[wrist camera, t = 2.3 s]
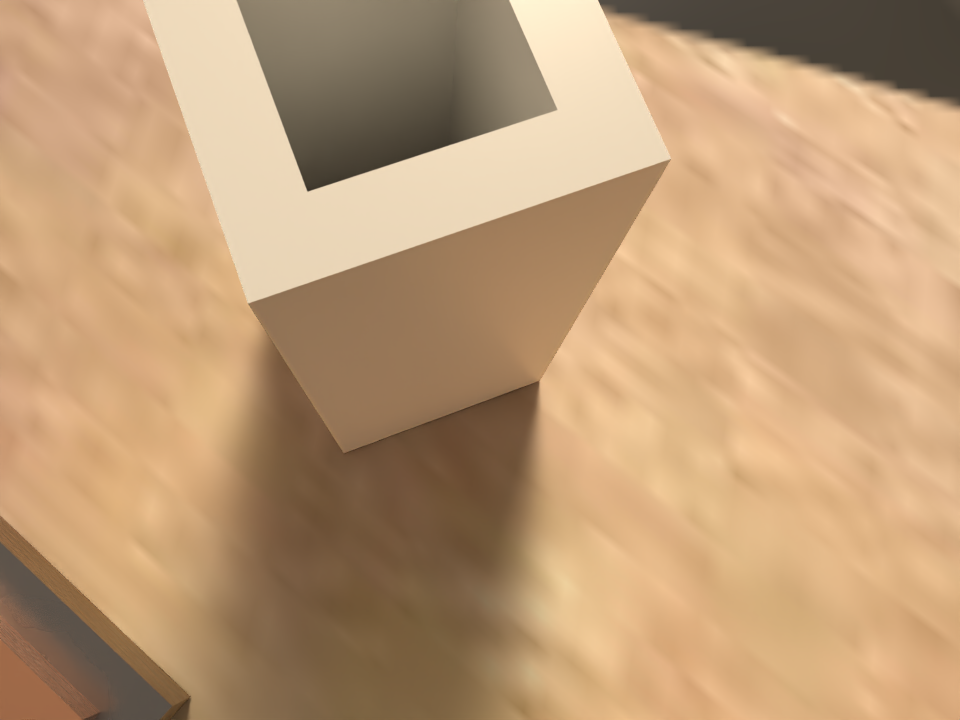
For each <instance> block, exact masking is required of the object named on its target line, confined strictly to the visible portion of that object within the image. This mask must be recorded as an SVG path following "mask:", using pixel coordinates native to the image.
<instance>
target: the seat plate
mask: <svg viewBox="0 0 960 720" xmlns="http://www.w3.org/2000/svg"><path fill="white" fill-rule="evenodd" d="M189 698H190V696H189V695H188V694H187V693H186V692H185V691H184V690H183V689H182V688H181V687H180V686H179V685H178V684H177V683H176V682H175V681H174V680H173V679H171V678H170V677H169V676H168V675H167V674H166V673H165V672H164V671H163V670H162V669H161V668H160V667H159V666H158V665H157V664H156V663H155V662H154V661H153V660H151V659H150V658H149V657H148V656H147V655H146V654H145V653H144V652H143V651H142V650H141V649H140V648H139V647H138V646H137V645H136V644H135V643H134V642H133V641H131V640H130V639H129V638H128V637H127V636H126V635H125V634H124V633H123V632H122V631H121V630H120V629H119V628H118V627H117V626H116V625H115V624H114V623H113V622H111V621H110V620H109V619H108V618H107V617H106V616H105V615H104V614H103V613H102V612H101V611H100V610H99V609H98V608H97V607H96V606H95V605H94V604H93V603H91V602H90V601H89V600H88V599H87V598H86V597H85V596H84V595H83V594H82V593H81V592H80V591H79V590H78V589H77V588H76V587H75V586H74V585H73V584H71V583H70V582H69V581H68V580H67V579H66V578H65V577H64V576H63V575H62V574H61V573H60V572H59V571H58V570H57V569H56V568H55V567H54V566H52V565H51V564H50V563H49V562H48V561H47V560H46V559H45V558H44V557H43V556H42V555H41V554H40V553H39V552H38V551H37V550H36V549H35V548H34V547H32V546H31V545H30V544H29V543H28V542H27V541H26V540H25V539H24V538H23V537H22V536H21V535H20V534H19V533H18V532H17V531H16V530H15V529H14V528H12V527H11V526H10V525H9V524H8V523H7V522H6V521H5V520H4V519H3V518H2V517H1V516H0V720H170V719H171V718H172V717H173V716H174V714H175V713H176V712H177V711H178V710H179V709H180V708H181V707H182V705H183V704H184V703H185V702H186V701H187V700H188V699H189Z"/></svg>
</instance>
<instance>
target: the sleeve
mask: <svg viewBox="0 0 960 720" xmlns="http://www.w3.org/2000/svg"><path fill="white" fill-rule="evenodd" d="M143 2H144V5H145V8H146V10H147V13H148V16H149V19H150V22H151V25H152V28H153V31H154V34H155V36H156V39H157V42H158V45H159V48H160V51H161V54H162V57H163V60H164V62H165V65H166V68H167V71H168V74H169V77H170V80H171V83H172V86H173V88H174V91H175V94H176V97H177V100H178V103H179V106H180V109H181V111H182V114H183V117H184V120H185V123H186V126H187V129H188V132H189V135H190V137H191V140H192V143H193V146H194V149H195V152H196V155H197V158H198V161H199V163H200V166H201V169H202V172H203V175H204V178H205V181H206V184H207V187H208V189H209V192H210V195H211V198H212V201H213V204H214V207H215V210H216V213H217V215H218V218H219V221H220V224H221V227H222V230H223V233H224V236H225V239H226V241H227V244H228V247H229V250H230V253H231V256H232V259H233V262H234V265H235V267H236V270H237V273H238V276H239V279H240V282H241V285H242V288H243V291H244V293H245V296H246V299H247V302H248V304H249V306H250V307H251V309H252V311H253V312H254V314H255V315H256V317H257V318H258V320H259V322H260V323H261V325H262V326H263V328H264V329H265V331H266V332H267V334H268V336H269V337H270V339H271V340H272V342H273V343H274V345H275V347H276V348H277V350H278V351H279V353H280V354H281V356H282V358H283V359H284V361H285V362H286V364H287V365H288V367H289V368H290V370H291V372H292V373H293V375H294V376H295V378H296V379H297V381H298V383H299V384H300V386H301V387H302V389H303V390H304V392H305V394H306V395H307V397H308V398H309V400H310V401H311V403H312V404H313V406H314V408H315V409H316V411H317V412H318V414H319V415H320V417H321V419H322V420H323V422H324V423H325V425H326V426H327V428H328V430H329V431H330V433H331V434H332V436H333V437H334V439H335V440H336V442H337V444H338V445H339V447H340V448H341V450H342V451H343V453H346V452H349V451H352V450H354V449H357V448H360V447H362V446H365V445H368V444H370V443H373V442H376V441H379V440H381V439H384V438H387V437H389V436H392V435H395V434H397V433H400V432H403V431H405V430H408V429H411V428H414V427H416V426H419V425H422V424H424V423H427V422H430V421H432V420H435V419H438V418H440V417H443V416H446V415H449V414H451V413H454V412H457V411H459V410H462V409H465V408H467V407H470V406H473V405H475V404H478V403H481V402H484V401H486V400H489V399H492V398H494V397H497V396H500V395H502V394H505V393H508V392H510V391H513V390H516V389H519V388H521V387H524V386H527V385H529V384H532V383H535V382H537V381H540V380H541V378H542V376H543V375H544V373H545V371H546V369H547V368H548V366H549V364H550V363H551V361H552V359H553V358H554V356H555V354H556V353H557V351H558V349H559V348H560V346H561V344H562V342H563V341H564V339H565V337H566V336H567V334H568V332H569V331H570V329H571V327H572V326H573V324H574V322H575V321H576V319H577V317H578V315H579V314H580V312H581V310H582V309H583V307H584V305H585V304H586V302H587V300H588V299H589V297H590V295H591V293H592V292H593V290H594V288H595V287H596V285H597V283H598V282H599V280H600V278H601V277H602V275H603V273H604V272H605V270H606V268H607V266H608V265H609V263H610V261H611V260H612V258H613V256H614V255H615V253H616V251H617V250H618V248H619V246H620V245H621V243H622V241H623V239H624V238H625V236H626V234H627V233H628V231H629V229H630V228H631V226H632V224H633V223H634V221H635V219H636V218H637V216H638V214H639V212H640V211H641V209H642V207H643V206H644V204H645V202H646V201H647V199H648V197H649V196H650V194H651V192H652V191H653V189H654V187H655V185H656V184H657V182H658V180H659V179H660V177H661V175H662V174H663V172H664V170H665V169H666V167H667V165H668V163H669V162H670V160H671V157H670V155H669V153H668V151H667V148H666V146H665V144H664V142H663V140H662V138H661V135H660V133H659V131H658V129H657V127H656V125H655V123H654V120H653V118H652V116H651V114H650V112H649V110H648V107H647V105H646V103H645V101H644V99H643V97H642V95H641V92H640V90H639V88H638V86H637V84H636V82H635V79H634V77H633V75H632V73H631V71H630V69H629V67H628V64H627V62H626V60H625V58H624V56H623V54H622V51H621V49H620V47H619V45H618V43H617V41H616V39H615V36H614V34H613V32H612V30H611V28H610V26H609V23H608V21H607V19H606V17H605V15H604V13H603V11H602V8H601V6H600V4H599V2H598V0H143Z"/></svg>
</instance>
